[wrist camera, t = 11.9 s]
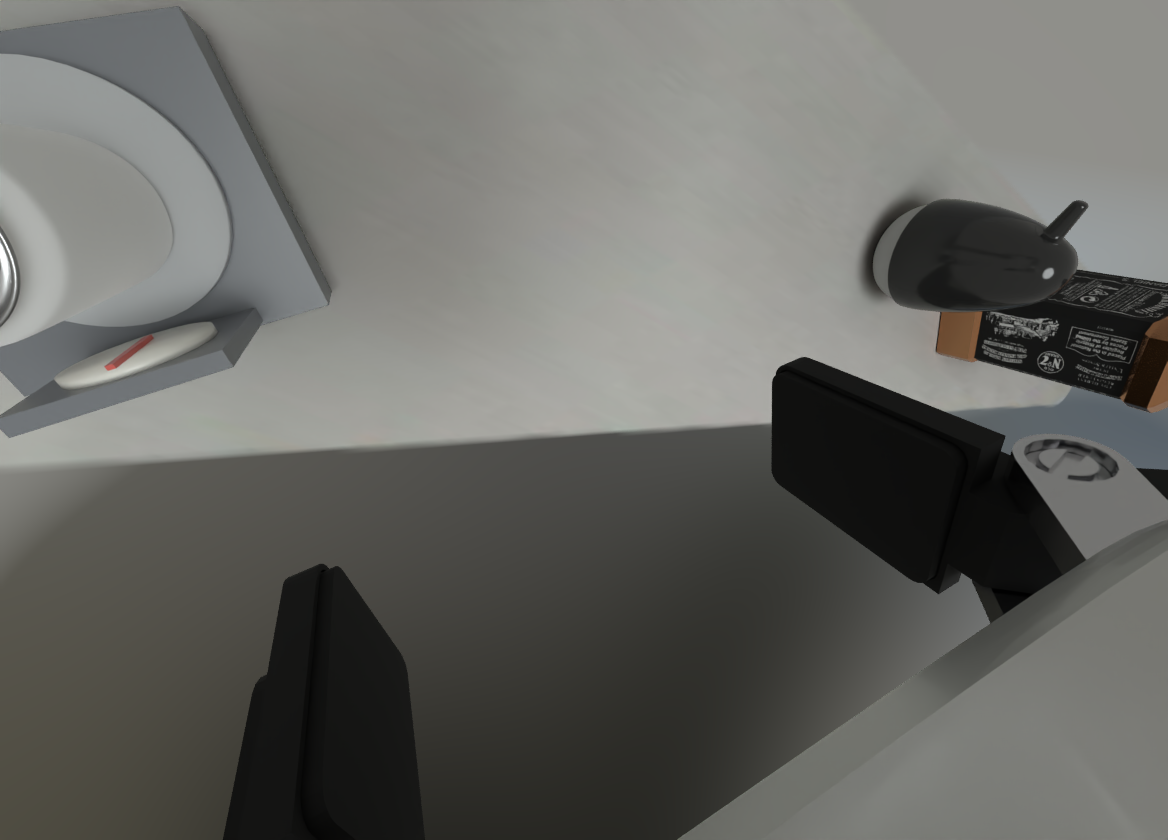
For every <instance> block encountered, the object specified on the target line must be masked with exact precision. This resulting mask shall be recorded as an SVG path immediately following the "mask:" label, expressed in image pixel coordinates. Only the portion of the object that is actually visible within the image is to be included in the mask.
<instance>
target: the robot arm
mask: <svg viewBox="0 0 1168 840" xmlns="http://www.w3.org/2000/svg"><path fill="white" fill-rule="evenodd" d="M1004 439H1005V435H1002V434H1000V433H997V432H994V431H992V430H990V429H987V428H984V427H982V426H979V425H977V424H974V423H972V422H969V421H967V420H964V419H962V418H959V417H957V416H954V415H952V414H949V413H947V412H944V411H942V410H939V409H937V408H934V407H931V406H929V405H926V404H924V403H921V402H919V401H916V400H914V399H911V398H909V397H906V396H904V395H901V394H899V393H896V392H894V391H891V390H889V389H886V388H884V387H881V386H878V385H876V384H873V383H871V382H868V381H866V380H863V379H861V378H858V377H856V376H853V375H851V374H848V373H846V372H843V371H841V370H838V369H836V368H833V367H831V366H828V365H825V364H823V363H820V362H818V361H815V360H813V359H810V358H807V357H802V358H799V359H796V360H794V361H792V362H789V363H787V364H785V365H782V366H781V367H779V368H778V370H777V371H776V376H775V377H774V378H773V381H772V474H773V477H774V478H775V480H776V482H777V483H778V484H779V485H781V486H782V487H783V488H785V489H786V490H787V491H789V492H790V493H791V494H793V495H794V496H796V497H797V498H799V499H800V500H801V501H803V502H804V503H805V504H807V505H808V506H809V507H811V508H812V509H814V510H815V511H816V512H818V513H819V514H821V515H822V516H823V517H825V518H826V519H828V520H829V521H830V522H832V523H833V524H834V525H836V526H837V527H839V528H840V529H841V530H843V531H844V532H846V533H847V534H848V535H850V536H851V537H852V538H854V539H855V540H856V541H858V542H859V543H861V544H862V545H863V546H865V547H866V548H868V549H869V550H870V551H872V552H873V553H875V554H876V555H877V556H879V557H880V558H881V559H883V560H884V561H885V562H887V563H888V564H890V565H891V566H892V567H894V568H895V569H897V570H898V571H899V572H901V573H902V574H903V575H905V576H906V577H908V578H909V579H911V580H912V581H915V582H918V583H924V584H925V585H926V586H928V587H929V588H931V589H932V590H933V591H935V592H936V593H938V594H940V593H941V592H943V591H944V590H946V589H947V588H949V587H951V586H952V585H953V584H955V583H957V582H958V581H959V578H960V575H961V573H963V574H964V575H966V576H967V577H969V578H970V579H972V583H973V585H974V587H975V590H976V592H977V594H978V596H979V599H980V601H981V603H982V605H983V608H984V610H985V612H986V615H987V617H988V619H989V621H990V624H989V625H988V626H986V627H985V628H983V629H982V630H980V631H979V632H977V633H976V634H975V635H973V636H972V637H970V638H969V639H967V640H966V641H964V642H963V643H961V644H960V645H958V646H957V647H956V648H954V649H952V650H951V651H950V652H948V653H947V654H945V655H944V656H942V657H941V658H939V659H938V660H936V661H935V662H933V663H932V664H931V665H929V666H928V667H926V668H925V669H923V670H922V671H920V672H919V673H918V674H916V675H915V676H913V677H912V678H910V679H909V680H907V681H906V682H904V683H903V684H901V685H900V686H899V687H897V688H896V689H894V690H893V691H891V692H890V693H888V694H887V695H885V696H884V697H882V698H881V699H880V700H878V701H877V702H875V703H874V704H873V705H871V706H869V707H868V708H867V709H865V710H864V711H862V712H861V713H859V714H858V715H856V716H855V717H854V718H852V719H851V720H849V721H848V722H846V723H845V724H844V725H842V726H840V727H839V728H837V729H836V730H835V731H833V732H832V733H830V734H829V735H827V736H826V737H824V738H823V739H822V740H820V741H819V742H817V743H816V744H814V745H813V746H812V747H810V748H809V749H807V750H806V751H804V752H803V753H801V754H800V755H799V756H797V757H796V758H794V759H793V760H791V761H790V762H788V763H787V764H785V765H784V766H782V767H781V768H780V769H778V770H777V771H775V772H774V773H772V774H771V775H769V776H768V777H767V778H765V779H764V780H762V781H761V782H759V783H758V784H756V785H755V786H754V787H752V788H751V789H749V790H748V791H746V792H745V793H744V794H742V795H741V796H739V797H738V798H736V799H735V800H734V801H732V802H731V803H729V804H728V805H726V806H725V807H724V808H722V809H721V810H719V811H718V812H716V813H715V814H713V815H712V816H711V817H709V818H708V819H706V820H705V821H703V822H702V823H701V824H699V825H698V826H696V827H695V828H693V829H692V830H691V831H689V832H688V833H686V834H685V835H683V836H682V837H680V838H679V839H678V840H1168V470H1159V469H1141V468H1135V467H1134V466H1133V465H1132V464H1131V463H1130V462H1129V461H1128V460H1127V459H1126V458H1124V457H1123V456H1122V455H1120V454H1119V453H1118V452H1116V451H1114V450H1112V449H1110V448H1108V447H1106V446H1104V445H1102V444H1099V443H1096V442H1093V441H1090V440H1087V439H1084V438H1079V437H1073V436H1068V435H1057V434H1039V435H1031V436H1028V437H1025V438H1021V439H1020V440H1019V441H1017V442H1016V443H1015V444H1014V446H1013V449H1012V452H1011V455H1008V454H1006V453H1003V452H1001V448H1002V445H1003V442H1004ZM223 840H425V834H424V825H423V815H422V806H421V796H420V787H419V777H418V769H417V759H416V749H415V740H414V730H413V720H412V711H411V701H410V692H409V682H408V673H407V669H406V664H405V662H404V659H403V657H402V655H401V653H400V652H399V650H398V649H397V647H396V646H395V644H394V643H393V642H392V640H391V639H390V637H389V636H388V635H387V633H386V632H385V630H384V629H383V627H382V626H381V624H380V623H379V622H378V620H377V619H376V617H375V616H374V614H373V613H372V612H371V610H370V609H369V607H368V606H367V604H366V603H365V602H364V600H363V599H362V597H361V596H360V594H359V593H358V592H357V590H356V589H355V587H354V586H353V585H352V583H351V582H350V580H349V579H348V577H347V576H346V574H345V573H344V572H343V570H342V569H341V568H340V567H338V566H335V567H333V568H331V569H329V568H328V567H327V566H326V565H324V564H319V565H316V566H314V567H312V568H309V569H307V570H305V571H303V572H300V573H298V574H295V575H293V576H291V577H288V578H287V579H286V580H285V581H284V584H283V589H282V594H281V600H280V605H279V611H278V617H277V622H276V628H275V633H274V639H273V645H272V650H271V656H270V661H269V667H268V673H267V675H265V676H263V677H261V678H260V679H259V680H258V682H257V683H256V684H255V687H254V690H253V693H252V697H251V702H250V707H249V712H248V717H247V722H246V727H245V732H244V737H243V742H242V747H241V752H240V757H239V762H238V767H237V772H236V777H235V782H234V787H233V792H232V797H231V802H230V807H229V812H228V817H227V822H226V827H225V832H224V837H223Z"/></svg>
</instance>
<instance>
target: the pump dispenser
mask: <svg viewBox="0 0 1168 840" xmlns="http://www.w3.org/2000/svg"><path fill="white" fill-rule="evenodd" d="M1087 208H1088V204H1087V203H1086V202H1084V201H1080V200H1078V201H1074V202H1072V203H1071V204H1070V205H1069V206H1068V207H1067V208H1066V209H1065V210H1064V211H1063V212H1062V213H1061V214H1060V215H1059V216H1058V217H1057V218H1056V219H1055V220H1054V221H1053V222H1052V223H1051V224H1050V225H1049V226H1048V227H1047V226H1045V225H1043V224H1041V223H1039V222H1037V221H1035V220H1033V219H1031V218H1029V217H1027V216H1024V215H1022V214H1019V213H1016V212H1013V211H1010V210H1007V209H1004V208H1001V207H997V206H993V205H989V204H984V203H979V202H973V201H967V200H960V199H941V200H937V201H934V202H932V203H930V204H927V205H923V206H920V207H917V208H914V209H912V210H910V211H908V212H906V213H905V214H903V215H902V216H900V217H899V218H898V219H896V220H895V221H894V222H893V223H892V224H891V225H890V226H889V227H888V228H887V230H886V231H885V232H884V234H883V235H882V237H881V239H880V241H879V243H878V245H877V247H876V250H875V254H874V258H873V274H874V278H875V281H876V283H877V285H878V286H879V288H880V289H881V290H882V291H883V292H884V293H885V294H886V295H887V296H889V297H890V298H892V299H893V300H894V301H895V302H896V303H897V304H899V305H900V306H903V307H907V308H911V309H917V310H925V311H935V312H951V313H967V312H985V311H995V310H1003V309H1010V308H1016V307H1021V306H1026V305H1030V304H1034V303H1038V302H1041V301H1044V300H1046V299H1049V298H1051V297H1053V296H1054V295H1056V294H1058V293H1059V292H1060V291H1062V290H1063V289H1064V288H1065V287H1066V286H1067V285H1068V284H1069V283H1070V281H1071V280H1072V279H1073V277H1074V275H1075V273H1076V270H1077V266H1078V256H1077V252H1076V250H1075V249H1074V247H1073V246H1072V245H1071V244H1070V243H1069V242H1068V241H1067V240H1066V239H1065V238H1064V237H1065V235H1066V234H1067V233H1068V231H1069V230H1070V229H1071V228H1072V226H1073V225H1074V224H1075V223H1076V222H1077V220H1078V219H1079V218H1080V217H1081V215H1082V214H1083V213H1084V212H1085V211H1086V209H1087Z"/></svg>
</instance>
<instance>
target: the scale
mask: <svg viewBox="0 0 1168 840" xmlns="http://www.w3.org/2000/svg"><path fill="white" fill-rule="evenodd" d="M0 123H3V124H10V125H16V126H23V127H30V128H36V129H42V130H48V131H54V132H59V133H64V134H68V135H72V136H76V137H79V138H82V139H85V140H88V141H90V142H93V143H95V144H97V145H100V146H102V147H104V148H106V149H108V150H109V151H111V152H113V153H114V154H116V155H118V156H119V157H121V158H122V159H124V160H125V161H126V162H128V163H129V164H130V165H132V166H133V167H134V168H135V169H136V170H137V171H139V172H140V173H141V174H142V175H143V176H144V177H145V178H146V179H147V181H148V182H149V183H150V184H151V185H152V186H153V188H154V189H155V191H156V192H157V193H158V195H159V197H160V198H161V200H162V202H163V204H164V206H165V209H166V211H167V213H168V216H169V219H170V222H171V227H172V233H173V241H172V247H171V250H170V253H169V255H168V257H167V259H166V261H165V262H164V264H163V265H162V266H161V267H160V269H159V270H158V271H157V272H155V273H154V274H153V275H152V276H150V277H149V278H147V279H146V280H144V281H142V282H140V283H138V284H137V285H135V286H133V287H131V288H129V289H127V290H125V291H123V292H121V293H119V294H117V295H115V296H113V297H111V298H109V299H107V300H105V301H103V302H101V303H99V304H97V305H95V306H93V307H91V308H89V309H87V310H85V311H83V312H81V313H79V314H76V315H74V316H72V317H70V318H68V319H66V320H64V321H62V322H60V323H58V324H56V325H54V326H52V327H50V328H47V329H45V330H43V331H41V332H39V333H37V334H35V335H32V336H30V337H28V338H25V339H23V340H20V341H18V342H15V343H12V344H8V345H5V346H1V347H0V371H1V372H2V373H3V374H4V375H5V377H6V378H7V379H8V380H9V381H10V382H11V383H12V384H13V385H14V386H15V387H16V388H17V389H18V390H19V391H20V392H21V393H22V394H23V395H24V396H28V395H30V396H28V397H27V398H25V399H24V400H22V401H21V402H19V403H18V404H16V405H15V406H13V407H12V408H10V409H9V410H7V411H6V412H4V413H3V414H1V415H0V429H1V430H2V431H3V432H4V433H5V434H6V435H7V436H8V437H9V438H11V437H14V436H18V435H21V434H24V433H27V432H30V431H33V430H36V429H40V428H43V427H46V426H49V425H52V424H55V423H59V422H62V421H65V420H68V419H71V418H74V417H77V416H81V415H84V414H87V413H90V412H93V411H96V410H99V409H103V408H106V407H109V406H112V405H115V404H118V403H122V402H125V401H128V400H131V399H134V398H137V397H140V396H144V395H147V394H150V393H153V392H156V391H159V390H163V389H166V388H169V387H172V386H175V385H178V384H181V383H185V382H188V381H191V380H194V379H197V378H200V377H204V376H207V375H210V374H213V373H216V372H219V371H222V370H226V369H229V368H232V367H234V365H235V364H236V362H237V361H238V359H239V357H240V356H241V354H242V353H243V351H244V350H245V348H246V347H247V345H248V344H249V342H250V340H251V339H252V337H253V336H254V334H255V333H256V331H257V330H258V328H259V327H260V326H261V325H264V324H267V323H271V322H274V321H277V320H281V319H284V318H287V317H291V316H294V315H297V314H300V313H304V312H307V311H310V310H314V309H317V308H320V307H324V306H327V305H329V301H330V296H331V290H330V288H329V285H328V283H327V281H326V279H325V277H324V275H323V273H322V271H321V269H320V267H319V265H318V263H317V261H316V259H315V257H314V255H313V253H312V251H311V249H310V247H309V245H308V243H307V241H306V239H305V237H304V235H303V233H302V231H301V228H300V226H299V224H298V222H297V220H296V218H295V216H294V214H293V212H292V210H291V208H290V206H289V204H288V202H287V200H286V198H285V196H284V194H283V192H282V190H281V188H280V186H279V184H278V182H277V180H276V178H275V176H274V174H273V172H272V169H271V167H270V165H269V163H268V161H267V159H266V157H265V155H264V153H263V151H262V149H261V147H260V145H259V143H258V141H257V139H256V137H255V135H254V133H253V131H252V129H251V127H250V125H249V123H248V121H247V119H246V117H245V115H244V113H243V110H242V108H241V106H240V104H239V102H238V100H237V98H236V96H235V94H234V92H233V90H232V88H231V86H230V84H229V82H228V80H227V78H226V76H225V74H224V72H223V70H222V68H221V66H220V64H219V62H218V60H217V58H216V56H215V53H214V51H213V49H212V47H211V45H210V43H209V41H208V39H207V37H206V35H205V33H204V31H203V29H202V28H201V27H200V26H198V25H197V24H196V23H195V22H194V21H193V20H192V19H191V18H190V17H189V16H188V15H187V14H186V13H185V12H184V11H183V10H182V9H181V8H180V7H179V6H176V7H169V8H162V9H155V10H148V11H141V12H134V13H126V14H119V15H112V16H105V17H98V18H91V19H84V20H77V21H70V22H63V23H55V24H48V25H41V26H34V27H27V28H20V29H13V30H6V31H0Z"/></svg>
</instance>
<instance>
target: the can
mask: <svg viewBox="0 0 1168 840" xmlns="http://www.w3.org/2000/svg"><path fill="white" fill-rule="evenodd" d="M172 241H173V233H172V227H171V222H170V219H169V216H168V213H167V211H166V209H165V206H164V204H163V202H162V200H161V198H160V197H159V195H158V193H157V192H156V191H155V189H154V188H153V186H152V185H151V184H150V183H149V182H148V181H147V179H146V178H145V177H144V176H143V175H142V174H141V173H140V172H139V171H137V170H136V169H135V168H134V167H133V166H132V165H130V164H129V163H128V162H126V161H125V160H124V159H122V158H121V157H119V156H118V155H116V154H114V153H113V152H111V151H109V150H108V149H106V148H104V147H102V146H100V145H97V144H95V143H93V142H90V141H88V140H85V139H82V138H79V137H76V136H72V135H68V134H64V133H59V132H54V131H48V130H42V129H36V128H30V127H23V126H16V125H10V124H3V123H0V347H1V346H5V345H8V344H12V343H15V342H18V341H20V340H23V339H25V338H28V337H30V336H32V335H35V334H37V333H39V332H41V331H43V330H45V329H47V328H50V327H52V326H54V325H56V324H58V323H60V322H62V321H64V320H66V319H68V318H70V317H72V316H74V315H76V314H79V313H81V312H83V311H85V310H87V309H89V308H91V307H93V306H95V305H97V304H99V303H101V302H103V301H105V300H107V299H109V298H111V297H113V296H115V295H117V294H119V293H121V292H123V291H125V290H127V289H129V288H131V287H133V286H135V285H137V284H138V283H140V282H142V281H144V280H146V279H147V278H149V277H150V276H152V275H153V274H154V273H155V272H157V271H158V270H159V269H160V267H161V266H162V265H163V264H164V262H165V261H166V259H167V257H168V255H169V253H170V250H171V247H172Z"/></svg>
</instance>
